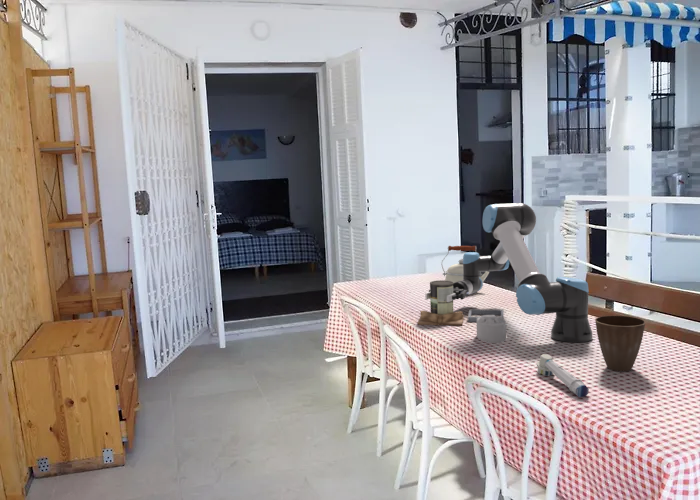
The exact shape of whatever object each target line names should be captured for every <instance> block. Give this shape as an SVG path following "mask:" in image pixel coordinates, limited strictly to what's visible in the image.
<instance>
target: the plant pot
mask: <svg viewBox="0 0 700 500" xmlns="http://www.w3.org/2000/svg"><path fill="white" fill-rule="evenodd" d="M594 321H595V328H596V334H597V339H598V343H599V347H600V352H601V354H602V357H603V360H604V362H605V365H606V367H607V369H608V370H611V371H615V372H630V371H631V370H632V369H633V367H634V364H635V362H636V360H637V358H638V355H639V351H640V348H641V345H642V342H643V338H644V334H645V333H644V332H645V326H646V321H645V320H644V319H642V318H639V317H635V316H628V315H602V316H598V317H596V318H595V319H594Z"/></svg>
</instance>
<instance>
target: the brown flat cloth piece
mask: <svg viewBox="0 0 700 500" xmlns="http://www.w3.org/2000/svg"><path fill="white" fill-rule="evenodd" d="M463 312H464V311H460V310H459V311H458V310H457V311H455V312H454V311H453V313H448V314H443V315H441V314H439V315H438V314H434V313H431V311H427V310H420V313H419V314H420V317H419V319H418V321H417V323H416V324H418V325H419V326H446V325H451V326H450V327H452V326H453V327H455V326H456V327H463V324H464V321H465V314H463Z"/></svg>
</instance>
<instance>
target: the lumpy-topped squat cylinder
mask: <svg viewBox="0 0 700 500" xmlns="http://www.w3.org/2000/svg"><path fill="white" fill-rule="evenodd" d="M478 317H479V318H477V322H476V338H477V339H478V340H479V341H482V342H484V343H489V344H500V343H501V344H502V343H504V342H505V341H506V340H507V322H506V320H505V318H503V317H504V316H503V317H502V316H501V315H498V316H497V315H485V314H482V315H481V316H478Z"/></svg>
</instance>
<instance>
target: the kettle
mask: <svg viewBox="0 0 700 500" xmlns="http://www.w3.org/2000/svg"><path fill="white" fill-rule="evenodd" d="M451 251H457V252H458V251H460V252H462V251H469V252H470V251H473V252H474V251H475V252H477V245H472V246H471V245H455V246H454V245H453V246H451V245H448V246H447V254H446V255H445V256H444V257H443V259H442V260H441V263H443V262H444V260H445V258H447V256H448V255H449V253H450V252H451ZM441 267H442V271H443V273H442V275H444V277H445V279H444V280H445V281H452V282H453V283H455V282H458V281H461V280H463V258H460V259H459V260H458V263H454V264H452V265H450V266H449V267H448V268H447V270H446V271H445V269H444V266H443V265H441ZM489 274H490V271H487V272H483V273H482V272H479V277H480V278H481V280H482V282H483V283H484V282H485V280H486V278H487V277H488V276H489Z"/></svg>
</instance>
